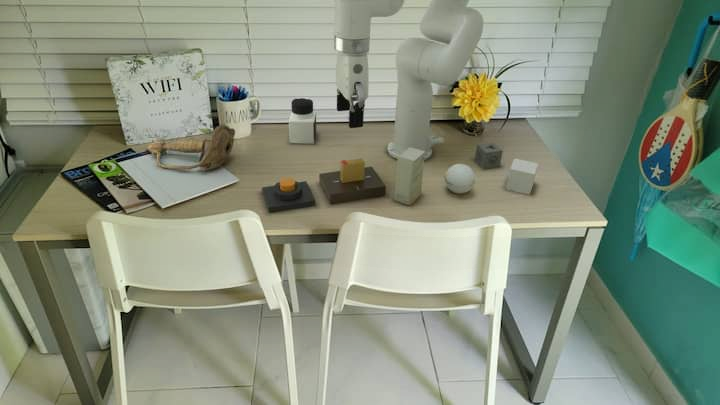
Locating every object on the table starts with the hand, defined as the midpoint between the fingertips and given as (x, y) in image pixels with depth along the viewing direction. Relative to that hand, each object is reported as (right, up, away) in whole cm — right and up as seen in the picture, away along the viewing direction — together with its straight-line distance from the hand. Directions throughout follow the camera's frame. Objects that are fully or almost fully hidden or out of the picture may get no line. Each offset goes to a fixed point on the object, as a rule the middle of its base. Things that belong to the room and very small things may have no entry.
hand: (349, 118), depth 118 cm
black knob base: (-15, -19, +4) cm, 24 cm away
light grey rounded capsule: (+27, -17, +9) cm, 33 cm away
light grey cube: (+43, -15, +13) cm, 48 cm away
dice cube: (+37, -9, +23) cm, 45 cm away
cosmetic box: (+14, -18, +7) cm, 24 cm away
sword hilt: (-44, -8, +20) cm, 49 cm away
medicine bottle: (-14, -1, +32) cm, 35 cm away
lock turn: (+1, -14, +7) cm, 16 cm away
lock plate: (0, -16, +9) cm, 19 cm away
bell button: (-15, -16, +3) cm, 22 cm away
